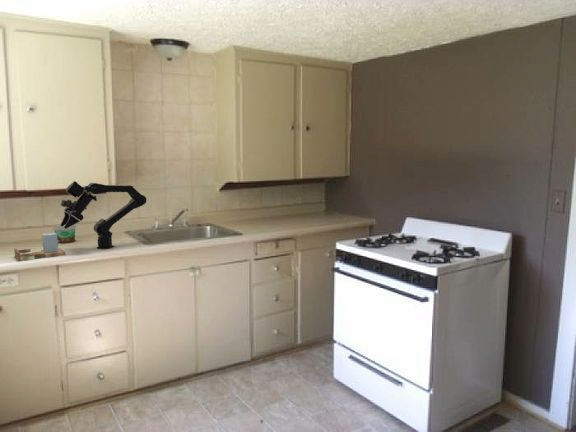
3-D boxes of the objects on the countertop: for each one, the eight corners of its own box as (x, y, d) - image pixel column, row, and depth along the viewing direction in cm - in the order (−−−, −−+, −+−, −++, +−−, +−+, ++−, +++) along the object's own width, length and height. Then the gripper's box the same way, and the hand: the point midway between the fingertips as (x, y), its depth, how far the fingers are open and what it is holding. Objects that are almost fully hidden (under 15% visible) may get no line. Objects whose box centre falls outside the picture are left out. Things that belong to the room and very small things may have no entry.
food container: (56, 244, 264) (54, 227, 262) (54, 243, 269) (52, 225, 267) (79, 242, 271) (78, 225, 269) (77, 240, 276) (76, 223, 274)
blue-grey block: (56, 249, 243) (54, 232, 242) (58, 251, 239) (56, 234, 238) (43, 251, 240) (42, 234, 238) (45, 253, 236) (43, 235, 234)
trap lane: (60, 251, 248) (59, 243, 247) (65, 255, 238) (64, 247, 238) (14, 256, 235) (14, 248, 235) (18, 261, 226) (17, 253, 225)
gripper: (65, 192, 249) (45, 215, 245) (73, 195, 234) (52, 220, 230) (83, 204, 255) (64, 227, 251) (91, 208, 240) (72, 233, 236)
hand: (63, 227), depth 242 cm, fingers open, 9 cm apart
